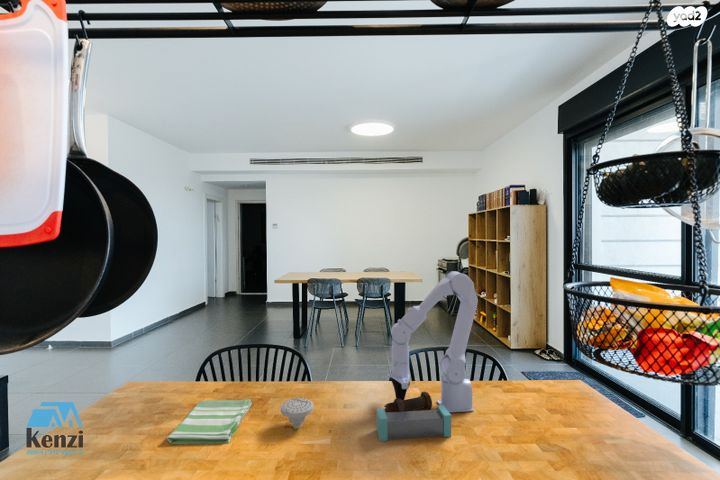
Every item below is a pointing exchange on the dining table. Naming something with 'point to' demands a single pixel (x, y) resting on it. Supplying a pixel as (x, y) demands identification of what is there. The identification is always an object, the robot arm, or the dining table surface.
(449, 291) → the robot arm
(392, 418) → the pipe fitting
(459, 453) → the dining table surface
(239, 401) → the dish towel
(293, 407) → the showerhead
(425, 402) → the bolt
